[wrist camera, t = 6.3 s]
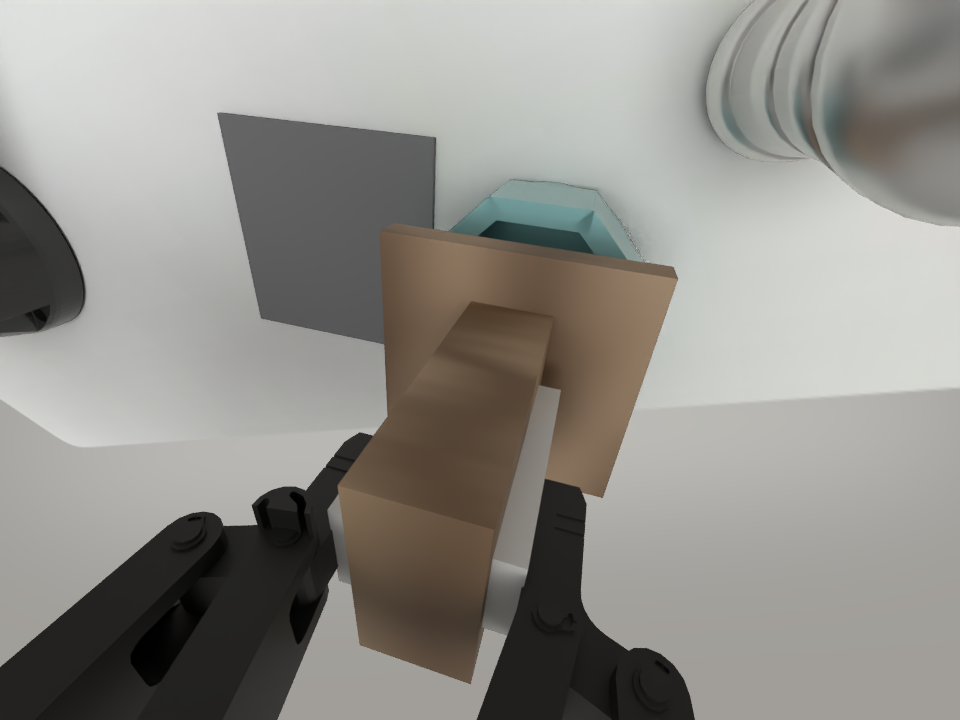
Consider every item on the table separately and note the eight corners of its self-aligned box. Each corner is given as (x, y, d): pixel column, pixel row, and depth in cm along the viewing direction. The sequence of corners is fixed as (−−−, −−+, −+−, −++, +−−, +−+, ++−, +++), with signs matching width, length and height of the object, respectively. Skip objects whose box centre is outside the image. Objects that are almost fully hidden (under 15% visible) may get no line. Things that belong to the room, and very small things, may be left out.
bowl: (451, 337, 30) (419, 383, 25) (459, 169, 24) (420, 186, 19) (609, 369, 28) (609, 426, 23) (659, 195, 22) (674, 221, 17)
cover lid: (399, 427, 21) (257, 640, 13) (394, 222, 16) (146, 356, 7) (603, 477, 19) (595, 764, 11) (673, 266, 14) (762, 506, 6)
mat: (263, 316, 34) (261, 318, 33) (220, 112, 26) (217, 112, 26) (431, 351, 31) (429, 353, 31) (435, 137, 24) (433, 137, 24)
